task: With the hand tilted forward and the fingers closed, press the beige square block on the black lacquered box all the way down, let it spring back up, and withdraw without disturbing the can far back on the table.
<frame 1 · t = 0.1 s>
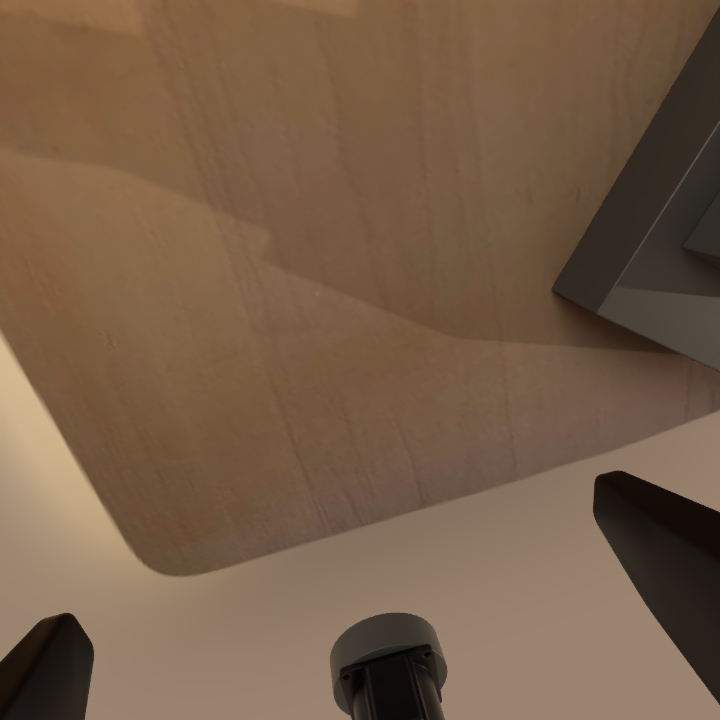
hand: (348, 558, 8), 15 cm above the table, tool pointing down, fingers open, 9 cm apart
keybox: (710, 195, 23), on the table
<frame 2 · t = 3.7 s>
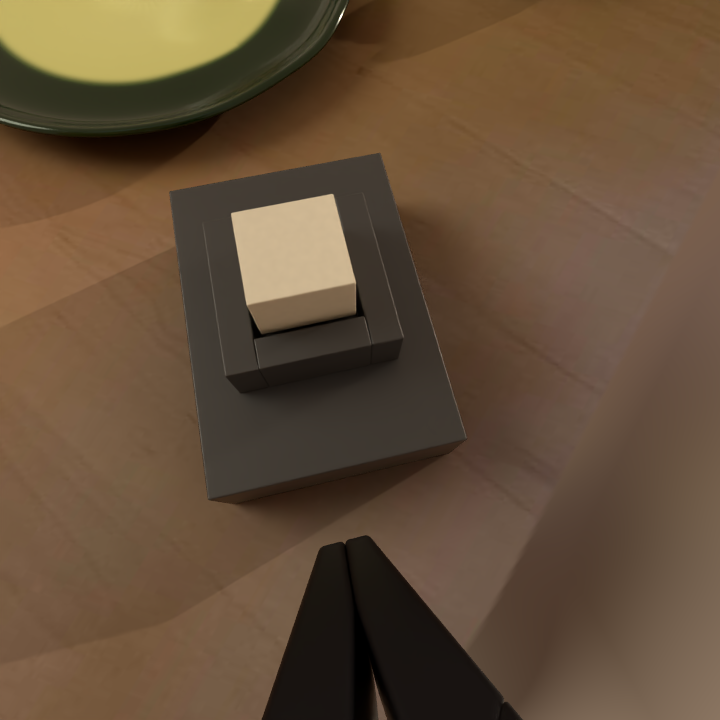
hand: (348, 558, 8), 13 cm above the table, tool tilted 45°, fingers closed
beige square block: (296, 266, 17), point 7 cm above the table, slide at 0.1 cm
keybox: (312, 336, 24), on the table
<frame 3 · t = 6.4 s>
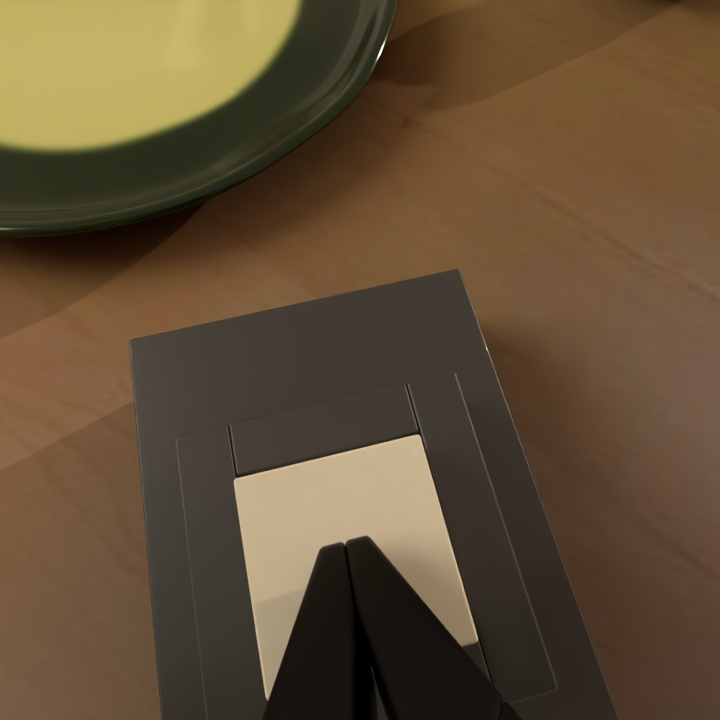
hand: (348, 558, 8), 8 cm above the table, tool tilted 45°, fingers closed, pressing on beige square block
plate: (114, 22, 24), on the table
beige square block: (350, 553, 10), point 6 cm above the table, slide at -0.6 cm, touching gripper
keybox: (354, 545, 15), on the table
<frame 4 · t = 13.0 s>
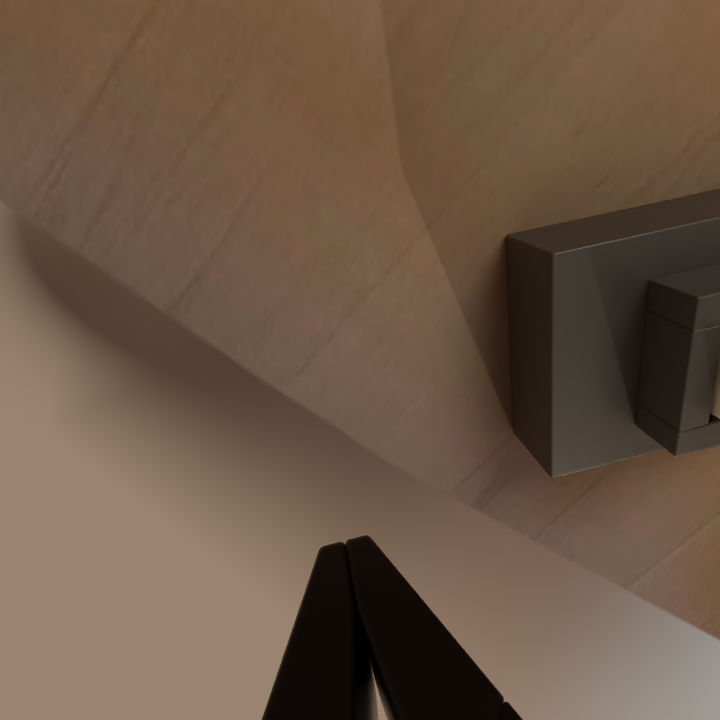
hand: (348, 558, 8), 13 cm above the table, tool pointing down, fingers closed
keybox: (650, 310, 23), on the table
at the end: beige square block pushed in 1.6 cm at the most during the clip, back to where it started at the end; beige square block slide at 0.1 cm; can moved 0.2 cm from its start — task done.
